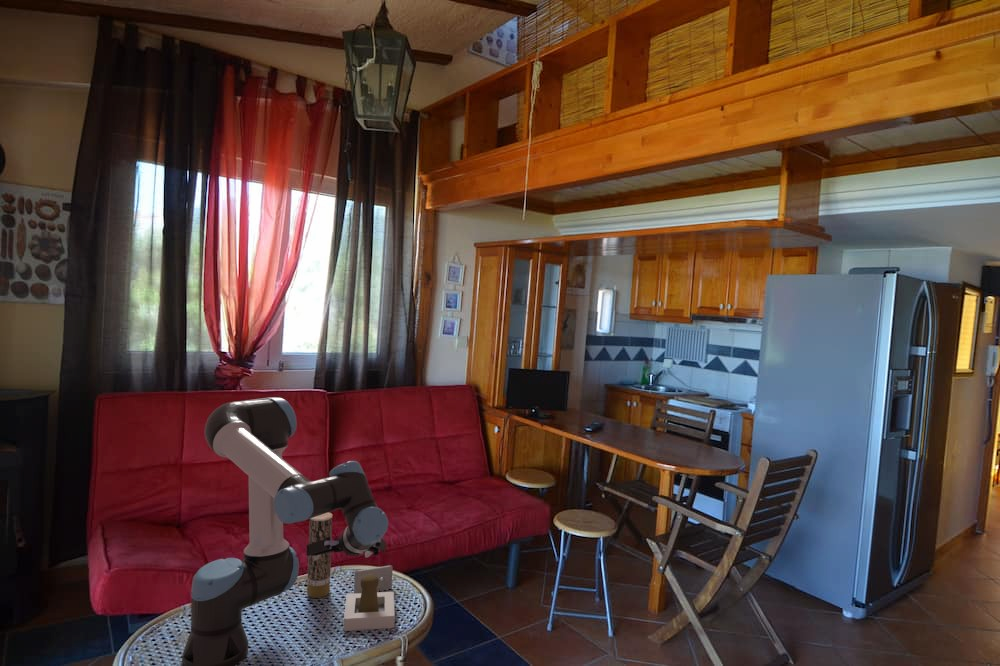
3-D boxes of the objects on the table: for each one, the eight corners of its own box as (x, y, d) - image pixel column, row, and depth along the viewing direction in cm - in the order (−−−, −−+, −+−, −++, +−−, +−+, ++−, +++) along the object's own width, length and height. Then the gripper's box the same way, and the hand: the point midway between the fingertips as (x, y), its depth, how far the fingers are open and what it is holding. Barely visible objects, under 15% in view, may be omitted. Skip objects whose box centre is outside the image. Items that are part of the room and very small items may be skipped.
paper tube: (323, 586, 186) (326, 510, 185) (333, 594, 181) (336, 516, 180) (303, 592, 181) (305, 514, 180) (312, 601, 176) (315, 521, 175)
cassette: (354, 596, 181) (355, 572, 180) (353, 593, 182) (354, 569, 182) (392, 590, 186) (393, 566, 185) (390, 587, 187) (391, 564, 187)
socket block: (343, 631, 161) (343, 618, 161) (346, 605, 175) (346, 593, 175) (394, 627, 164) (394, 615, 164) (393, 602, 178) (393, 591, 178)
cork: (373, 620, 166) (375, 582, 165) (354, 616, 167) (355, 579, 166) (382, 609, 172) (383, 573, 171) (363, 606, 173) (364, 570, 172)
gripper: (303, 556, 133) (292, 571, 149) (408, 550, 143) (387, 565, 160) (305, 523, 137) (293, 541, 153) (407, 520, 147) (386, 537, 163)
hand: (341, 553), depth 156 cm, fingers open, 13 cm apart
